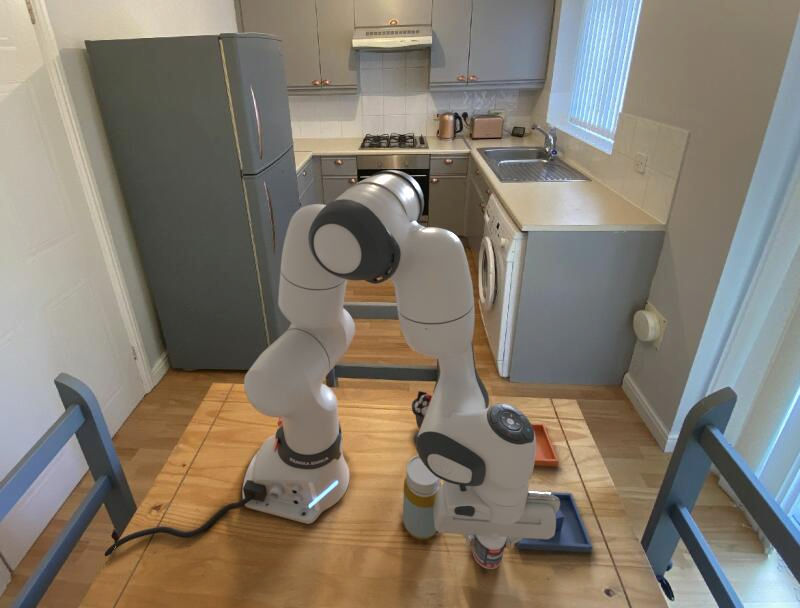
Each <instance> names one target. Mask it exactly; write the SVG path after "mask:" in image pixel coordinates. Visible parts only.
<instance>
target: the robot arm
mask: <svg viewBox="0 0 800 608" xmlns="http://www.w3.org/2000/svg"><path fill="white" fill-rule="evenodd" d="M424 197H425V196H424V193H423V190H422V188H421V186H420V184H419V183H418V182H417V181H416V179H414V178H413V177H412V176H411V175H410V174H408V173H406V172H404V171H400V170H395V169H394V170H393V169H388V170H382V171H378V172H375V173H373V174H371V175H370V176H369V177H367V178H364V179H362V180H360V181H358V182H356V183H355V184H353V185H351V186H350V187H348V188H347V189H346V190H345V191H344V192H343V193H341V194H340V195H339V196H337V198H335V199H334V200H333V201H330V202H328V203H327V204H322V203H314V204H308V205H305V206H302V207H301V208H299V209H298V210H296V211H295V212H294V213H293V214H292V215H291V218H290V220H289V223H288V226H287V229H286V232H285V236H284V241H283V246H282V251H281V259H280V268H279V281H278V296H277V305H278V308H279V310H280V312H281V314H282V315H283V316H284V318H286V320H287V321H288V322H290V324H289V327H288V328H287V329H286V330H285V331H284V332H283V334H281V335H280V336H279V337H278V338H277V339H276V340H275V341H274V342H272V344H270V345H269V346H268V347H267V348H265V350H264V351H262V352H261V353H260V354H259V356H258V357H257V358H256V360H255V361H254V362H253V363H252V364H251V366H250V368H249V369H248V371H247V372H246V374H245V376H244V380H243V387H244V392H245V396H246V398H247V400H248V402H249V403H250V405H251V406H252V407H253V409H254V410H256V411H257V412H258V413H259V414H261V415H264V416H265V417H269V418H276V419H277V418H278V421H277V426H278V427H279V428H278V429H276V432H275V434H272V435H271V436H269V437H267V438H266V439H265V440H264V441H263V443H262V444H261V446H260V448H259V449H258V450H257V452H256V453H255V454H254V455H253V457H252V459H251V461H250V462H249V465H248V468H247V469H246V473H245V475H244V479H243V484H242V492H241V493H242V494H241V495H242V499H241V500H240V501H237V502H231V503H229V504H227V505H225V506H224V507H222V508H220V509H219V510H218V511H217V512H216V513H215V514H214V515H212V517H211V518H209V520H207V521H206V522H205V523H204V524H203V525H201V526H200V527H198V528H196V529H193V530H189V531H183V530H181V529H180V530H179V529H176V528H173V527H170V526H157V527H156V526H155V527H151V528H147V529H142V530H139V531H135V532H133V533H130V534H128V535H126V536H123V537H122V538H120V539H119V540H117V541H115V542H114V543H113V544H112V545H110V546H109V547H108V548H107V550H106V551H104V554H103V555H104V557H109V556H110V555H111V554H113V552H114V551H115V550H116V549H117V548H119V547H121V546H123V545H124V544H126V543H128V542H130V541H132V540H135V539H138V538H141V537H146V536H150V535H154V534H168V535H171V536H174V537H177V538H181V539H189V538H193V537H196V536H198V535H200V534H202V533H203V532H206V530H208V529H209V528H210V527H211V526H212V525H213V524H214V523H215V522H216V521H217V520H218V519H219V518H220V517H222V516H223V515H224V514H226V513H227V512H229V511H231V510H234V509H240V508H241V507H243V506H244V507H245V508H247V509H251V510H255V511H258V512H261V513H265V514H269V515H272V516H276V517H280V518H284V519H287V520H291V521H295V522H299V523H302V524H306V525H310V524H313V523H314V522H315V521H316V520H317V519H318V518H319V516H320V515H321V514H322V513H323V512H324V511H326V510H328V509H330V508H331V507H333V506H334V505H335V504H337V503H338V502H339V501H340V500H341V499H342V498H343V496H344V495H345V493H346V491H347V489H348V487H349V483H350V479H351V478H350V477H351V475H350V468H349V465H348V464H347V462H346V460H345V457H344V454H343V447H344V445H343V443H344V442H343V432H342V426H341V422H340V420H339V405H338V398H337V395H336V394H335V392H334V391H333V390H332V388H330V387H329V386H328V385H327V384H324V383H323V382H324V380H325V379H326V377H327V376H328V374H329V373H330V372H331V371H332V369H334V367H335V366H336V365H337V364H338V362H340V360H342V358H343V356H345V354H346V353H347V351H348V349H349V347H350V345H351V344H352V342H353V339H354V337H355V335H356V324H355V322H354V320H353V317H352V316H351V314H350V313H349V311H347V310H346V309H345V307H344V302H345V296H346V291H347V290H346V289H347V283H348V281H354V282H355V281H358V282H359V281H365V282H368V283H370V284H374V285H377V284H382V283H383V282H386V281H387V280H390V279H391V282H392V285H393V287H394V294H395V303H396V311H397V317H398V323H399V327H400V331H401V334H402V337H403V339H404V341H405V343H406V345H407V347H409V348H410V349H411V350H413V351H414V352H415V353H417V354H419V355H420V356H422V357H426V358H429V359H434V360H437V361H438V367H439V375H438V377H437V378H436V381H435V384H434V387H433V391H432V395H431V396H432V398H431V401H430V403H429V406H428V409H427V412H426V415H425V417H424V420H423V422H422V425H421V428H420V429H419V430H418V431H419V434H418V437H417V439H416V442H415V449H416V452H417V455H419V457H420V459H421V461H422V462H423V463H424V465H425V466H426V467H427V469H428V470H429V471H430V472H431V473H433V474H434V475H435V476H436V477H438V478H440V480H442V483H441V486H440V487H439V489H438V491H437V493H436V497H435V501H434V507H433V518H434V527H435V529H436V530H437V533H440V534H449V535H450V534H451V535H454V534H455V535H462V537H463V538H464V539H465V544H466V546H467V547H472V546H475V543H476V539H475V535H484V536H490V535H491V534H499V536H501V537H506V543H505V547H504V549H514V548H515V544H517V542H518V541H520V540H521V539H523V538H534V539H550V538H551V537H553V536H554V535H555V530H556V516H555V513H556V512H557V511H558V510H559V507H560V500H559V498H558V497H556V496H554V495H552V493H549V492H550V491H536V490H535V491H533V490H529V489H530V482H529V481H530V480H531V478H532V476H533V472H534V468H535V465H534V463H535V456H536V437H535V432H534V429H533V427H532V425H531V423H532V422H531V421H530V419H528V417H527V416H526V415H525V414H524V413H523V412H522V411H520V409H518V408H516V407H514V405H510V404H507V403H498V402H497V403H494V404H492V405H490V397H489V396H490V395H489V393H488V390H487V388H486V386H485V384H484V382H483V381H482V379H481V377H480V375H479V372H478V370H477V366H476V359H475V353H474V352H475V351H474V343H473V336H474V332H475V331H474V330H475V299H474V296H475V295H474V288H473V281H472V275H471V270H470V266H469V261H468V257H467V255H466V251H465V248H464V245H463V243H462V241H461V239H460V238H459V237H458V236H457V235H456V234H454V233H453V232H452V231H450V230H448V229H446V228H445V229H444V228H441V227H432V226H431V227H426V226H424V225H421V224H420V223H419V222H420V220H421V218H422V215H423V212H424V207H425V199H424ZM379 278H380V279H379ZM489 405H490V406H489ZM115 546H116V548H115ZM114 548H115V549H114ZM113 550H114V551H113ZM112 551H113V552H112Z"/></svg>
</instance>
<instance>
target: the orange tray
mask: <svg viewBox="0 0 800 608" xmlns="http://www.w3.org/2000/svg"><path fill="white" fill-rule="evenodd" d="M530 423H531V425H532V427H533V429H534V432H535V437H536V456H535V463H534V466H539V467H541V466H542V467H559V462H560V460H559V459H558V458H559V457H558V456H557V453H556V450H555V448H554V445H553V444H552V441H551V438H550V435H549V433H548V430H547V428H546V425H545V423H544V422H543V423H542V422H540V423H539V422H530Z"/></svg>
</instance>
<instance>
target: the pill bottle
mask: <svg viewBox="0 0 800 608" xmlns="http://www.w3.org/2000/svg"><path fill="white" fill-rule="evenodd" d="M475 539H476V543H475V546H471V551H472V555H473V558H474V560H475V561H476V562H477V564H478V565H480V566H481V567H482V568H483V569H487V570H494V569H497V568H498V567H499V566H500V565H501V563H502V561H503V556H504V551H505V543H506V537H501V536H499V534H491V535H490V536H484V535H475Z"/></svg>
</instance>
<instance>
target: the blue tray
mask: <svg viewBox="0 0 800 608" xmlns="http://www.w3.org/2000/svg"><path fill="white" fill-rule="evenodd" d="M548 492H549V493H552V495H554V496H556V497H558V498H559V500H560V507H559V509H560V510H561V512H562V513H563V515H564V521H563V524H562V528H561V530H560V531H556V532H555V535H554V536H553V537H551V538H550V539H534V538H523V539H521V540H520V541H518V542H517V543H516V545H517V550H535V551H553V552H569V553H570V552H573V553H587V554H588V553H590V554H591V553H592V551H593V544H592V542H591V539H590V536H589V534H588V532H587V529H586V526H585V525H584V522H583V519H582V517H581V514H580V511H579V509H578V506H577V504H576V502H575V499H574V496H573V493H571V492H557V491H555V492H553V491H548Z"/></svg>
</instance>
